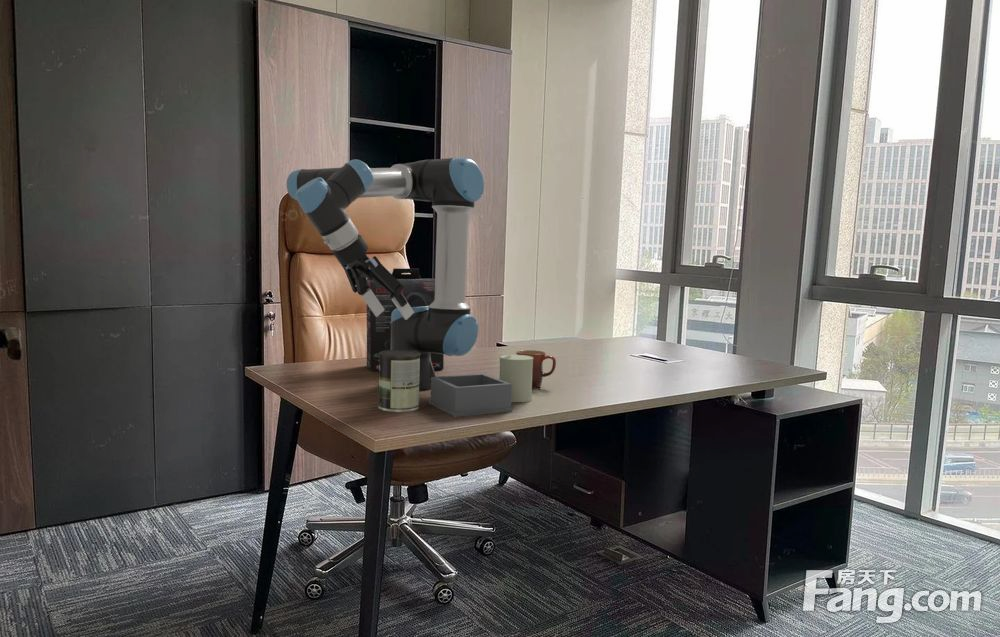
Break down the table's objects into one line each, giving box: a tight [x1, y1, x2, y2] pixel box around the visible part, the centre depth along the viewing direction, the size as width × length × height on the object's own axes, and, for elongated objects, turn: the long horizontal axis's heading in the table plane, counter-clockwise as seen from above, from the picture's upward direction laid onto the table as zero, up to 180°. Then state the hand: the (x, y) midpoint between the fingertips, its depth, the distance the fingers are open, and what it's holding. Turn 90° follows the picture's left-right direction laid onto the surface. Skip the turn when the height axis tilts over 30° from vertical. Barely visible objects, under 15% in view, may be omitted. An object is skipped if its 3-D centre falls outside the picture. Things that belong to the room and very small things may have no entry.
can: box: [499, 354, 533, 403], centre depth 198 cm, size 9×9×12 cm
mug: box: [515, 349, 557, 389], centre depth 216 cm, size 12×9×10 cm
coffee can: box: [377, 350, 420, 413], centre depth 184 cm, size 10×10×14 cm
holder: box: [428, 373, 514, 418], centre depth 187 cm, size 16×16×7 cm
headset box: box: [366, 267, 445, 372], centre depth 241 cm, size 25×12×33 cm, turn 106°
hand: (394, 314), depth 176 cm, fingers open, 13 cm apart
